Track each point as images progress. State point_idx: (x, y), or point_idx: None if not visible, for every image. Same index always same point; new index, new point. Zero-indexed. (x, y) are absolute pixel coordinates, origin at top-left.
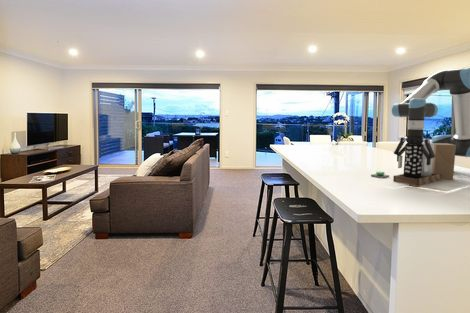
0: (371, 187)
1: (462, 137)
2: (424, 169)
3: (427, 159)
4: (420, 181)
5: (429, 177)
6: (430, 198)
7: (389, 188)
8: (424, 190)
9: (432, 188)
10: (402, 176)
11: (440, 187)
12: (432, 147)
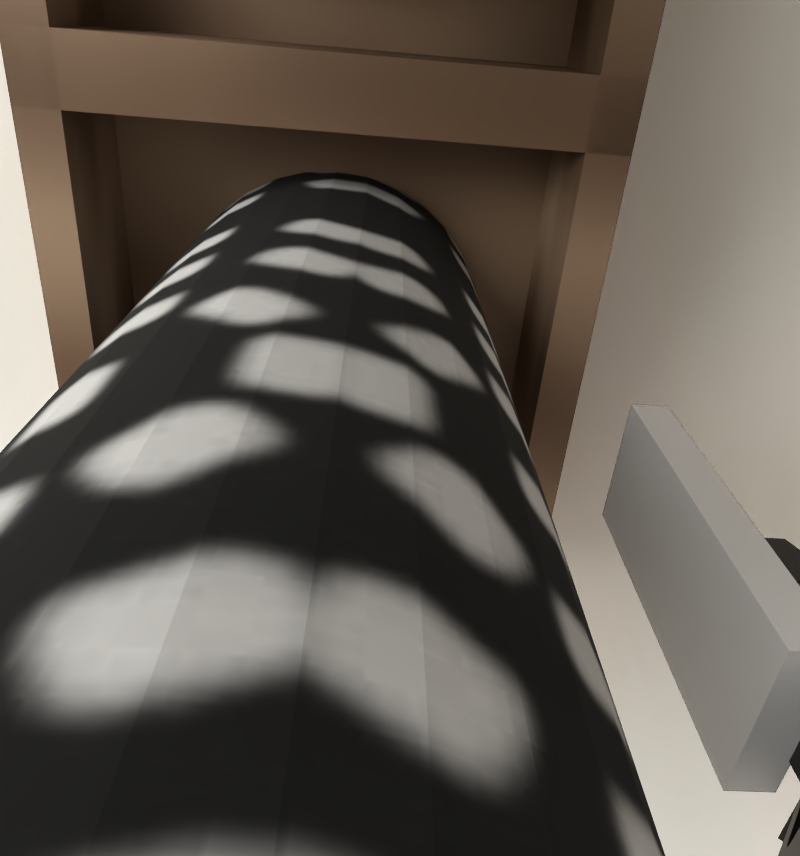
0: None
1: None
2: (623, 545)
3: (794, 740)
4: None
5: (624, 173)
6: (747, 843)
7: None
8: (630, 609)
9: (693, 424)
10: (104, 306)
11: (793, 248)
12: None
